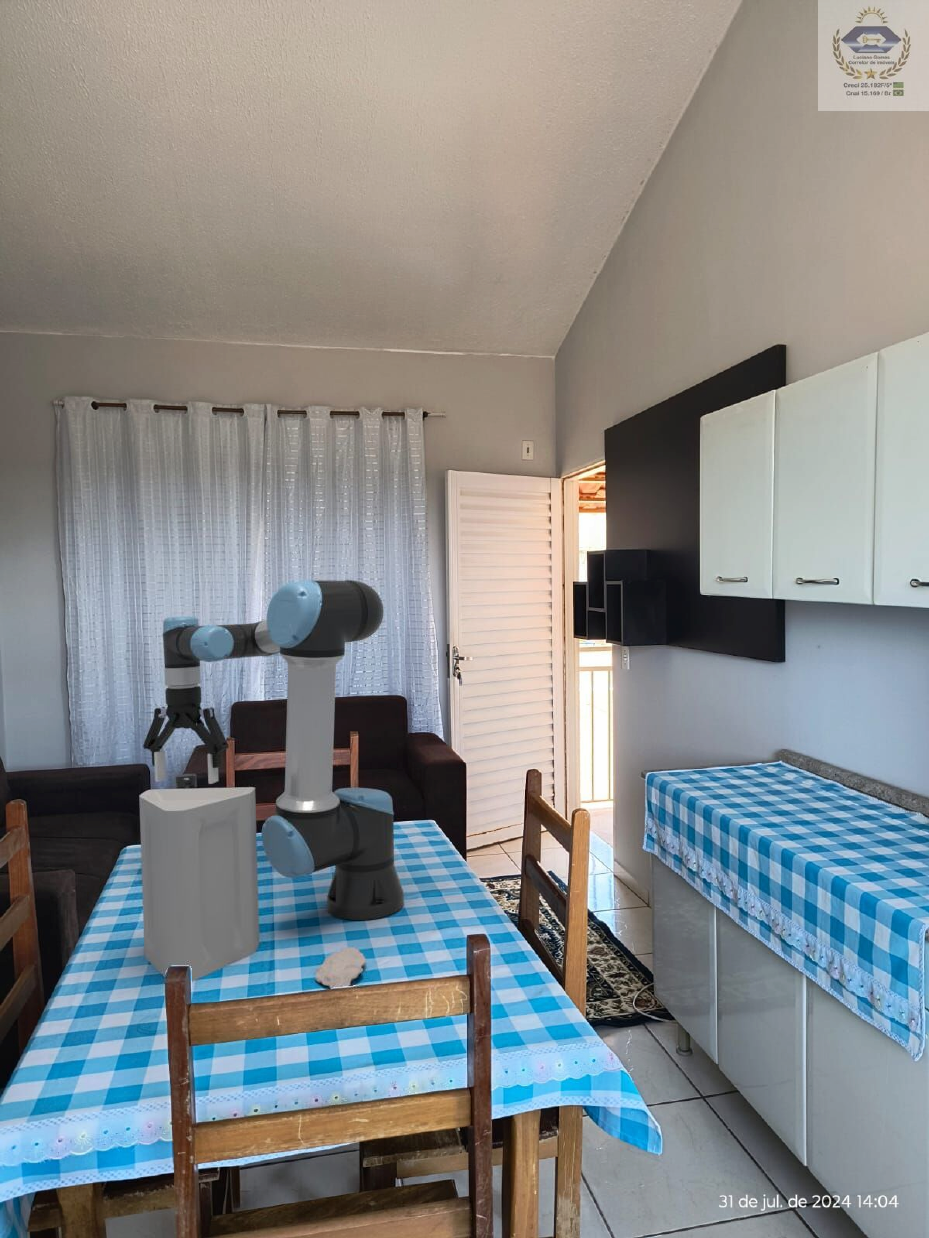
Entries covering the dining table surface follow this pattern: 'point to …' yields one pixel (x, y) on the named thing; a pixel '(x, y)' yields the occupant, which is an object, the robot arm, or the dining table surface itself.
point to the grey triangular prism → (199, 877)
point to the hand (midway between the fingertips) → (186, 781)
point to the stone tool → (340, 968)
